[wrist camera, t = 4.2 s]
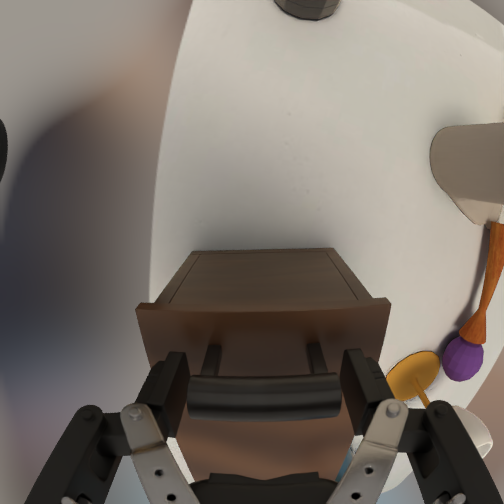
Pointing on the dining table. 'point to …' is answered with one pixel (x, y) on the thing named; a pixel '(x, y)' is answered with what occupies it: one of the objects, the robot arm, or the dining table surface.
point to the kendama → (476, 317)
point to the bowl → (309, 7)
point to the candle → (471, 169)
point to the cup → (414, 383)
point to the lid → (264, 381)
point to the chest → (263, 278)
